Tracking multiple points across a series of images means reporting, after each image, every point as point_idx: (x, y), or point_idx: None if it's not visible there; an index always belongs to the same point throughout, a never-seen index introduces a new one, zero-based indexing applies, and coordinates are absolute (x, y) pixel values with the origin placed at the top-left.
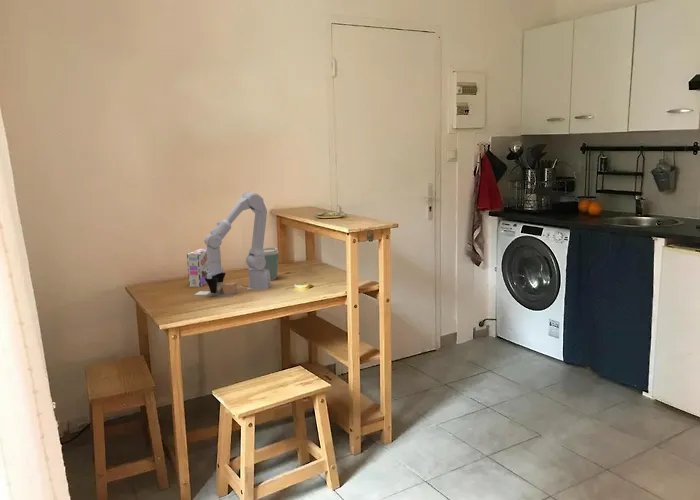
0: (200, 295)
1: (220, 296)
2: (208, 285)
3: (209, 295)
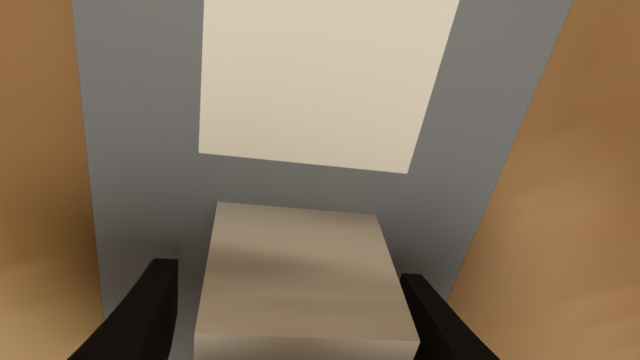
0: (137, 63)
1: None
2: (72, 356)
3: (149, 212)
